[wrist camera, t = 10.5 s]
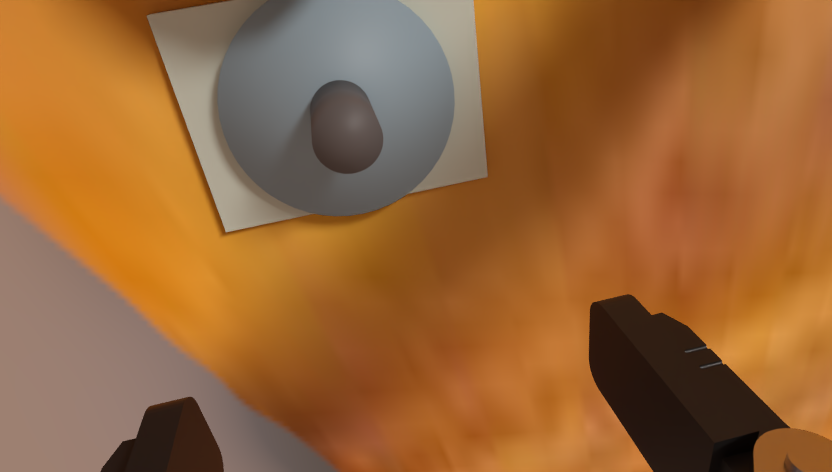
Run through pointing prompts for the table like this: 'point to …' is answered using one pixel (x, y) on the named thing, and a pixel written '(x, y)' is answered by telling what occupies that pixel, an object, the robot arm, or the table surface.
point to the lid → (336, 102)
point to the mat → (197, 96)
